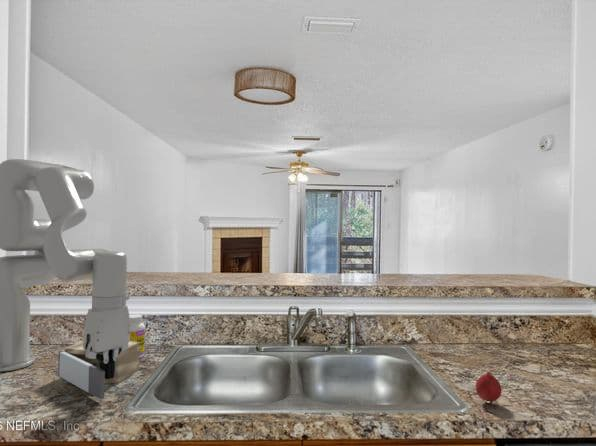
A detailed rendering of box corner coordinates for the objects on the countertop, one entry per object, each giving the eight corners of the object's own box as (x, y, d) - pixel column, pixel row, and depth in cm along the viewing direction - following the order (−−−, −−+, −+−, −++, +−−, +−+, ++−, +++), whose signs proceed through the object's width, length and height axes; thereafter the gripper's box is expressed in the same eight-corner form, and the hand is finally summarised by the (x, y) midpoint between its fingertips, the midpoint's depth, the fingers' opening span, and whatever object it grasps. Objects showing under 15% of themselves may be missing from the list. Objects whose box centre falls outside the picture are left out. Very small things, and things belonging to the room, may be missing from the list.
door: (57, 375, 111) (57, 351, 111) (62, 374, 112) (62, 350, 112) (100, 399, 97) (100, 372, 97) (105, 398, 98) (105, 370, 98)
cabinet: (63, 377, 112) (64, 348, 112) (88, 365, 122) (89, 338, 121) (117, 383, 109) (118, 353, 109) (138, 370, 119) (139, 342, 119)
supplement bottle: (136, 361, 126) (137, 319, 126) (117, 359, 127) (117, 317, 127) (148, 354, 133) (149, 314, 133) (130, 352, 134) (130, 313, 134)
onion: (471, 397, 105) (472, 366, 105) (494, 398, 105) (495, 367, 105) (480, 408, 100) (481, 374, 100) (505, 409, 99) (506, 375, 99)
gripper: (126, 296, 109) (124, 365, 109) (70, 305, 97) (67, 383, 97) (144, 299, 105) (143, 371, 105) (88, 309, 93) (86, 391, 93)
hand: (107, 377), depth 101 cm, fingers closed
